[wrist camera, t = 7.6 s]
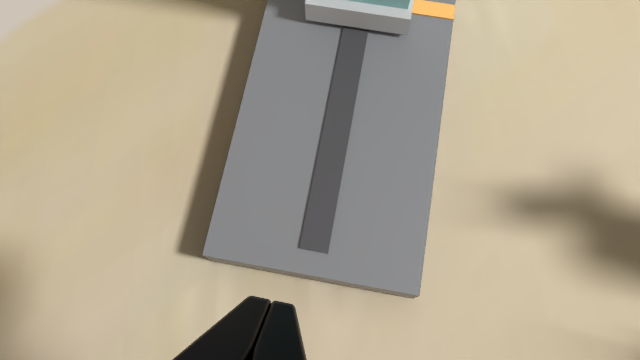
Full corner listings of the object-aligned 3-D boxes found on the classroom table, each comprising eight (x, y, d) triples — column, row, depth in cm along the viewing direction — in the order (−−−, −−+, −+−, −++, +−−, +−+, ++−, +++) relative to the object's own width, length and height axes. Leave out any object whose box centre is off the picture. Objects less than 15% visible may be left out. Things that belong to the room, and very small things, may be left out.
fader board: (413, 298, 21) (419, 295, 20) (210, 260, 22) (201, 254, 20) (451, -9, 26) (459, -31, 24) (284, -34, 27) (281, -56, 25)
